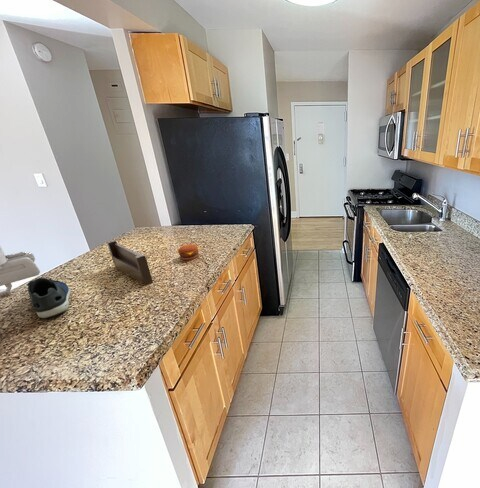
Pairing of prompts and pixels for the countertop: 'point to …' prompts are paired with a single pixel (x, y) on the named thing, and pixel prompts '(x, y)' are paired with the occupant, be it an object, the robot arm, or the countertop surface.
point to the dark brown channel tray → (130, 262)
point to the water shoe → (48, 297)
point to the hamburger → (188, 252)
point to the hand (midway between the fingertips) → (5, 296)
